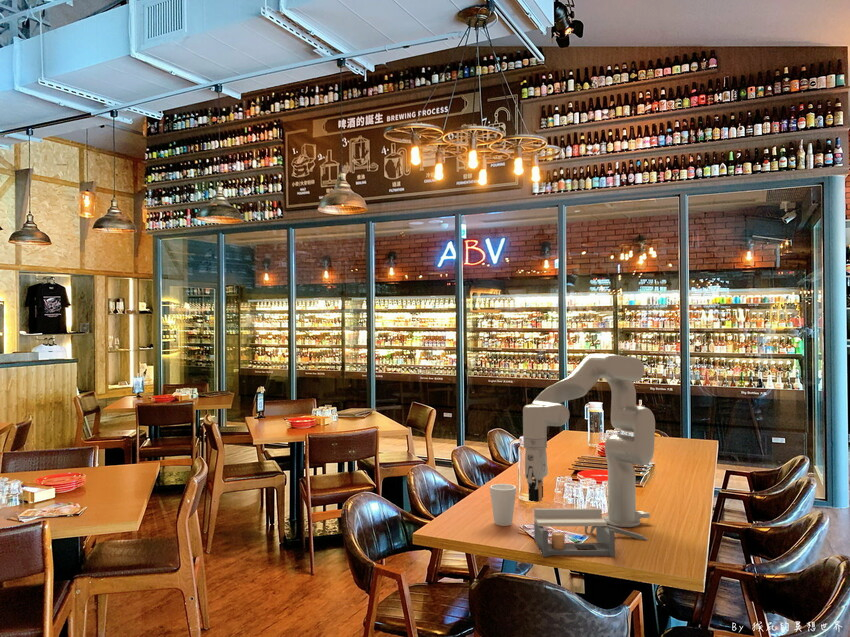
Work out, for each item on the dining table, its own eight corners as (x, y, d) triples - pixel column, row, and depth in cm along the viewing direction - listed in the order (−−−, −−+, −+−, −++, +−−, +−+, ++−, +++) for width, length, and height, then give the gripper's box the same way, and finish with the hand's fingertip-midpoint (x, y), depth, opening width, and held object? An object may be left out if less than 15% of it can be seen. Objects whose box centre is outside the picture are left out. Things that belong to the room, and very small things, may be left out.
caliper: (584, 533, 216) (584, 515, 216) (585, 532, 217) (585, 514, 217) (647, 541, 208) (647, 522, 208) (647, 540, 209) (647, 521, 209)
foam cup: (520, 521, 229) (520, 485, 229) (510, 528, 221) (510, 491, 221) (496, 517, 234) (496, 482, 234) (485, 524, 226) (485, 488, 226)
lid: (600, 519, 208) (600, 508, 208) (606, 526, 201) (606, 514, 201) (534, 519, 208) (534, 508, 208) (538, 526, 201) (538, 514, 201)
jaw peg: (543, 498, 205) (543, 482, 205) (539, 502, 201) (539, 484, 202) (531, 497, 207) (531, 480, 207) (527, 500, 203) (527, 483, 203)
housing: (600, 540, 208) (600, 515, 208) (614, 556, 193) (614, 530, 193) (534, 540, 208) (534, 516, 208) (543, 556, 193) (543, 530, 193)
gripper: (538, 448, 195) (539, 507, 195) (553, 439, 210) (554, 494, 210) (515, 446, 199) (516, 504, 198) (531, 437, 214) (532, 492, 213)
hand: (535, 498), depth 204 cm, fingers closed on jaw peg, 4 cm apart
